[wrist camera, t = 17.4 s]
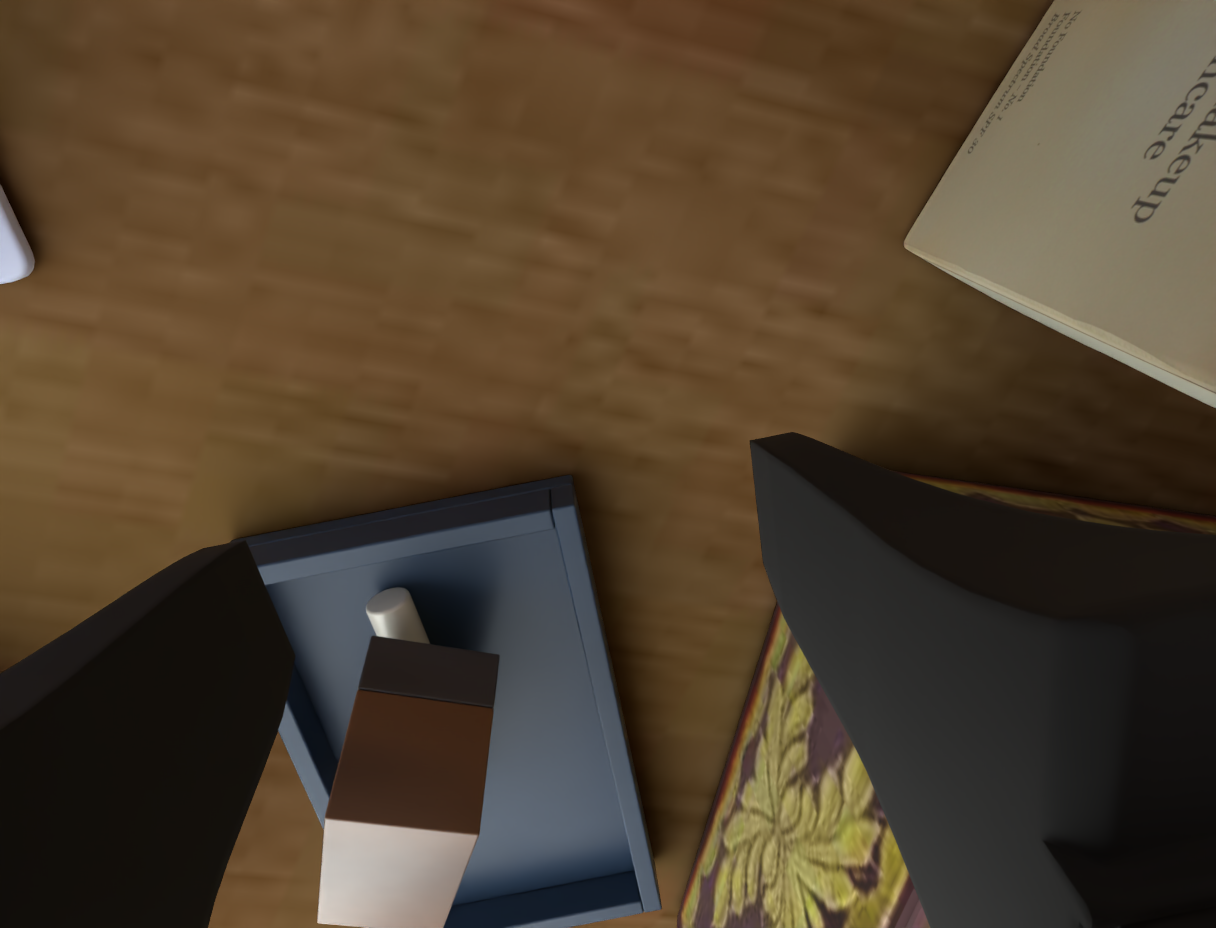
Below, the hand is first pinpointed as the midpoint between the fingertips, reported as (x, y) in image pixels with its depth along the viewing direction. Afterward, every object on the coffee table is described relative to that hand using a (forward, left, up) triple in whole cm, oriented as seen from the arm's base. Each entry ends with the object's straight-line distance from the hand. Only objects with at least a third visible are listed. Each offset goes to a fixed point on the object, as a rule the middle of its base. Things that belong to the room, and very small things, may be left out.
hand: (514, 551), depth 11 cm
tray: (-4, -11, -9) cm, 15 cm away
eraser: (-5, -9, -8) cm, 13 cm away
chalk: (-4, -7, -9) cm, 12 cm away
